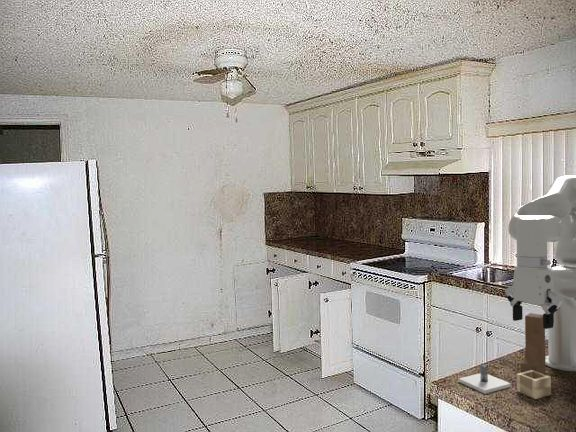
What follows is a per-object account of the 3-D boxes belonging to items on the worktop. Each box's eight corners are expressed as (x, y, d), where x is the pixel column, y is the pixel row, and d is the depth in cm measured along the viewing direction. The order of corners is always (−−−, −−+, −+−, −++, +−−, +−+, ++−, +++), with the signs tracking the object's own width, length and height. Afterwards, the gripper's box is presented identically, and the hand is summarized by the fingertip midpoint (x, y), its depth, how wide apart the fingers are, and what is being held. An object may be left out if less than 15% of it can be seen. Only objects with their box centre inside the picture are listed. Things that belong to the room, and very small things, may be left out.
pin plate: (483, 375, 148) (483, 357, 148) (510, 386, 139) (510, 368, 139) (458, 381, 144) (458, 363, 144) (484, 393, 135) (484, 374, 135)
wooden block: (536, 381, 142) (535, 321, 141) (520, 377, 145) (519, 318, 145) (545, 372, 149) (545, 314, 148) (530, 369, 152) (529, 312, 151)
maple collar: (532, 387, 138) (531, 369, 138) (551, 394, 133) (550, 376, 133) (517, 391, 136) (516, 373, 136) (535, 399, 130) (535, 380, 130)
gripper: (570, 264, 126) (571, 329, 127) (515, 258, 142) (515, 315, 143) (551, 267, 123) (551, 333, 124) (496, 260, 139) (497, 319, 140)
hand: (532, 323), depth 133 cm, fingers open, 9 cm apart
